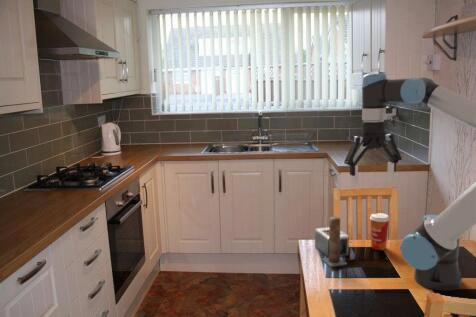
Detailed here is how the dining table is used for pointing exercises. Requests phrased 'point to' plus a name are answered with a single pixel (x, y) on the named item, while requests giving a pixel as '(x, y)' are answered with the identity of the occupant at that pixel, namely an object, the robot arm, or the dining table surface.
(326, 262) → the mat
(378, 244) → the paper cup
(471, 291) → the dining table surface
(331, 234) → the stylus
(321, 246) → the box
